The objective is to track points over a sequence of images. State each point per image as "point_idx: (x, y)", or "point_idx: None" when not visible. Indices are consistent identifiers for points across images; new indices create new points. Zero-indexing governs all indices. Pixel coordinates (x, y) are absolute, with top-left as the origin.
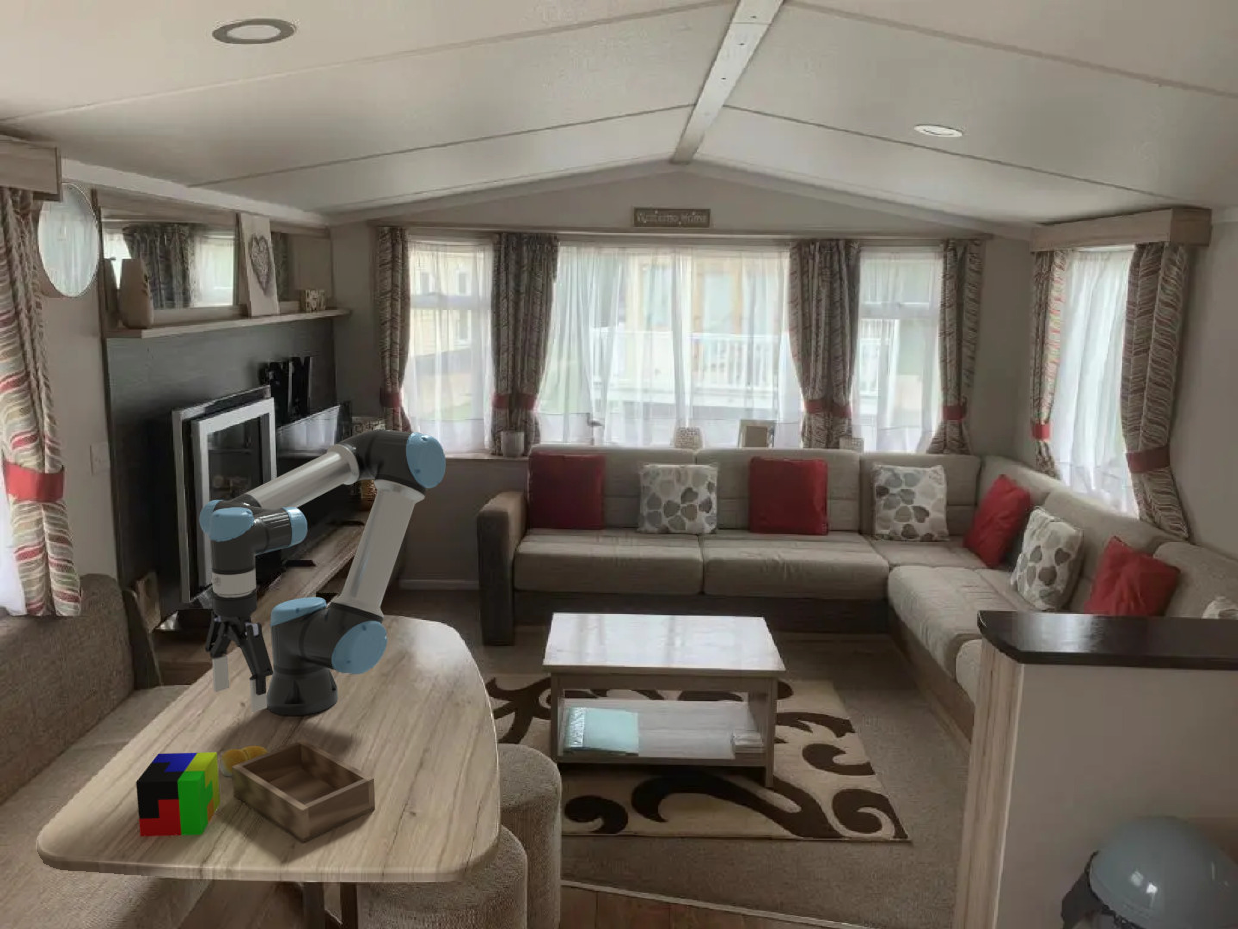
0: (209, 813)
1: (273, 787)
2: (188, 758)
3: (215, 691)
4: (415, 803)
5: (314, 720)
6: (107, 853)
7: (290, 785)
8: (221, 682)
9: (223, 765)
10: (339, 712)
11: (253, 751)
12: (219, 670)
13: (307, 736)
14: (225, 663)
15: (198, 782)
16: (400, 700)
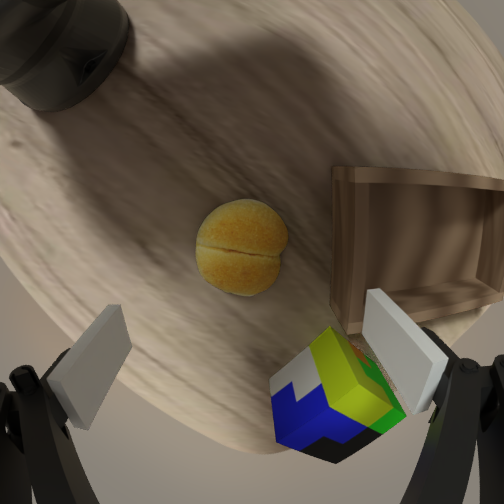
0: (361, 355)
1: (451, 307)
2: (336, 419)
3: (129, 348)
4: (499, 135)
5: (150, 52)
6: None
7: (382, 228)
8: (116, 344)
9: (247, 295)
10: (157, 8)
11: (259, 242)
12: (99, 380)
13: (205, 88)
14: (79, 371)
15: (404, 413)
16: None
